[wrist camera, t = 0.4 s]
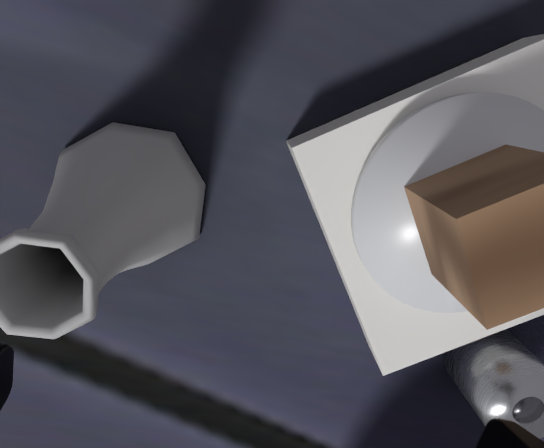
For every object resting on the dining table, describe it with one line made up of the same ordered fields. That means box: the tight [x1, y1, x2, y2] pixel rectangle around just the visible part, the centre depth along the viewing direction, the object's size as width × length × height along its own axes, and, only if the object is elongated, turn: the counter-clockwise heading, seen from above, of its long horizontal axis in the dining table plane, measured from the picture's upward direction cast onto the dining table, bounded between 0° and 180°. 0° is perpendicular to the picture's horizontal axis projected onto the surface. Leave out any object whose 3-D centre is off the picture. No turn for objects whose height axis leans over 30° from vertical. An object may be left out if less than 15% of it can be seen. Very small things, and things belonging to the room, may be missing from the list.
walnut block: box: [404, 144, 544, 330], centre depth 15 cm, size 4×4×4 cm
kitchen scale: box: [286, 34, 544, 376], centre depth 20 cm, size 13×12×4 cm
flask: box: [0, 122, 205, 339], centre depth 15 cm, size 7×7×10 cm
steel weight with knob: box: [444, 329, 544, 439], centre depth 22 cm, size 4×4×5 cm
